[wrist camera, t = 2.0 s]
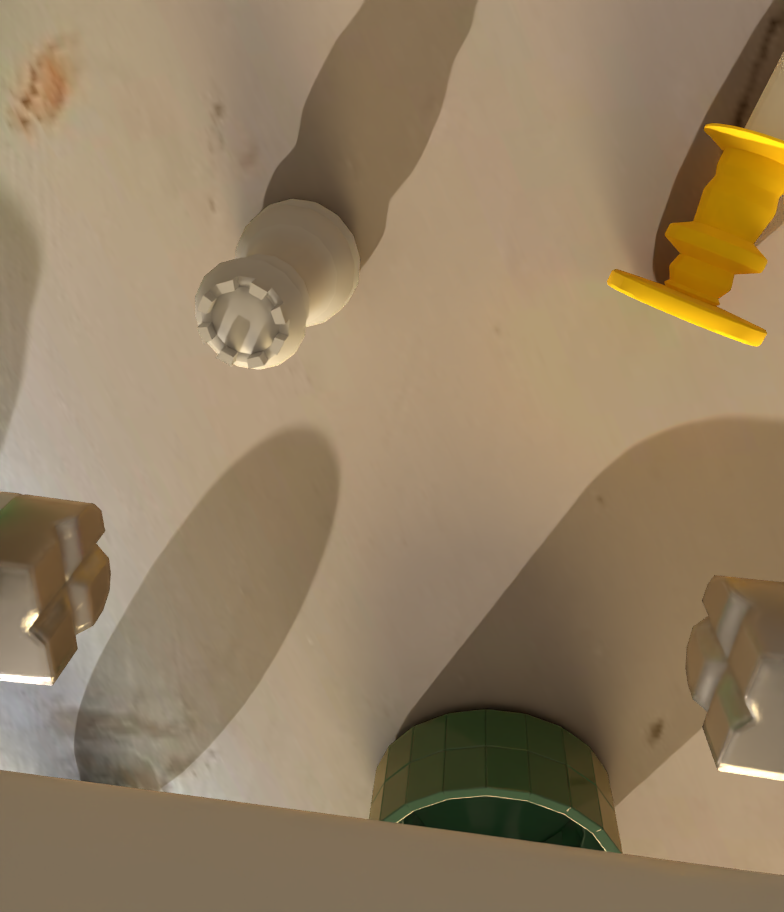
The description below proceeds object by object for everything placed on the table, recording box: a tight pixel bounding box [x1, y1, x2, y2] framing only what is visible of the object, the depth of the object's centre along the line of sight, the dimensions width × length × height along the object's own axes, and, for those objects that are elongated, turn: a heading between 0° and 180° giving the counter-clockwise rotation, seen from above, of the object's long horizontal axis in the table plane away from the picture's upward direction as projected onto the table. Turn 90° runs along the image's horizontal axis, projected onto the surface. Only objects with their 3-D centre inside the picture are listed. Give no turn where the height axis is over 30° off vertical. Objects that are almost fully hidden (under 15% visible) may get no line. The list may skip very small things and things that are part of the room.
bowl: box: [369, 709, 623, 854], centre depth 37 cm, size 12×12×5 cm
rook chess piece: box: [195, 199, 360, 370], centre depth 24 cm, size 4×4×8 cm
